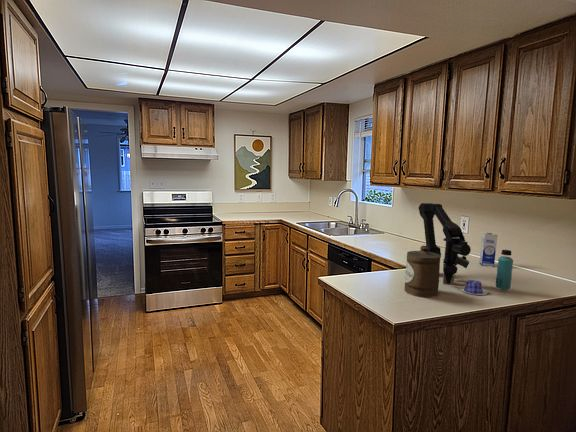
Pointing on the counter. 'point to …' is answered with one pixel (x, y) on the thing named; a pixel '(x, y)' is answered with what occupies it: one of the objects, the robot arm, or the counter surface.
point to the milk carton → (488, 249)
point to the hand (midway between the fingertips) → (448, 281)
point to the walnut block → (451, 280)
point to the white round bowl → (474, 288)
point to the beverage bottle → (504, 271)
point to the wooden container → (422, 273)
